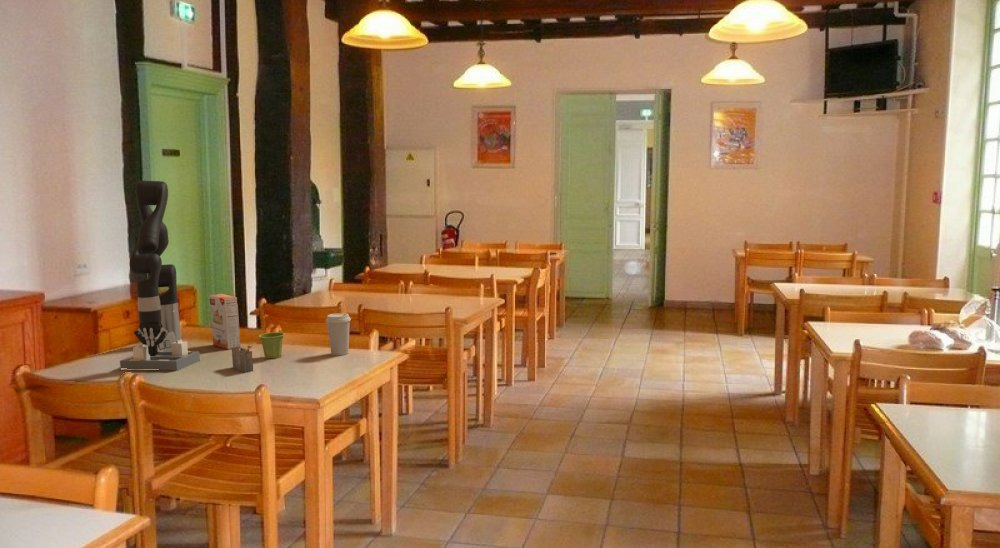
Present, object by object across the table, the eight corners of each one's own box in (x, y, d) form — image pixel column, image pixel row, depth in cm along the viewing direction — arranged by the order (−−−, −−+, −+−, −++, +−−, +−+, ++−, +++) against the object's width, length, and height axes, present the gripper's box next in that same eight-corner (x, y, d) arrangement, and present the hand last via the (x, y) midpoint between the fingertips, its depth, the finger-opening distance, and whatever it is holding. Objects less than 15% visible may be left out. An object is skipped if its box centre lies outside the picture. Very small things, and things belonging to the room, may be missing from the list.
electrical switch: (154, 359, 315) (151, 335, 314) (149, 358, 318) (146, 334, 318) (178, 355, 321) (176, 331, 321) (173, 354, 325) (170, 331, 324)
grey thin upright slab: (254, 372, 291) (252, 345, 290) (246, 373, 289) (244, 346, 288) (241, 367, 300) (239, 340, 299) (233, 368, 298) (231, 342, 297)
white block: (178, 356, 309) (176, 339, 308) (188, 357, 308) (186, 339, 307) (172, 359, 305) (171, 341, 304) (182, 359, 304) (181, 341, 304)
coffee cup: (338, 357, 309) (336, 318, 308) (321, 354, 315) (319, 315, 313) (357, 352, 317) (355, 314, 315) (340, 349, 323) (339, 312, 321)
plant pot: (266, 361, 306) (265, 338, 305) (256, 357, 314) (254, 334, 312) (290, 357, 312) (288, 334, 311) (279, 353, 319) (278, 331, 318)
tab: (140, 361, 303) (139, 343, 302) (150, 361, 302) (149, 343, 301) (134, 364, 299) (132, 345, 298) (144, 364, 298) (142, 345, 297)
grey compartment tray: (145, 360, 313) (145, 350, 313) (199, 360, 310) (199, 350, 309) (120, 370, 298) (119, 360, 297) (177, 370, 294) (176, 360, 294)
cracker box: (212, 345, 338) (208, 294, 335) (226, 343, 342) (222, 293, 339) (226, 350, 328) (223, 298, 325) (241, 347, 332) (237, 296, 329)
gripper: (172, 307, 300) (175, 353, 302) (138, 307, 302) (142, 353, 304) (160, 310, 293) (164, 358, 295) (126, 310, 295) (130, 358, 297)
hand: (153, 355), depth 299 cm, fingers closed
